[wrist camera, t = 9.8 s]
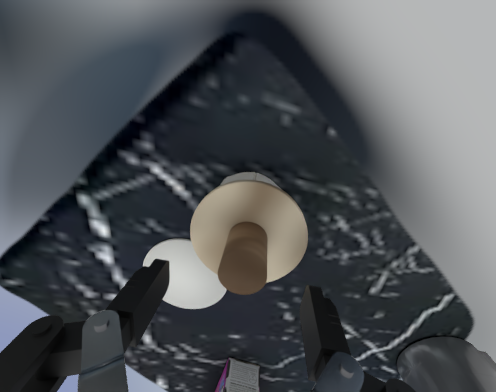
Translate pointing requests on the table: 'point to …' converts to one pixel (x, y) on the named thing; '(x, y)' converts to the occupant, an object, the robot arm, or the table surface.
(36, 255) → the table surface
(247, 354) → the table surface
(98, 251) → the table surface
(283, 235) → the lid
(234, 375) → the candy bar box
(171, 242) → the white round disc
